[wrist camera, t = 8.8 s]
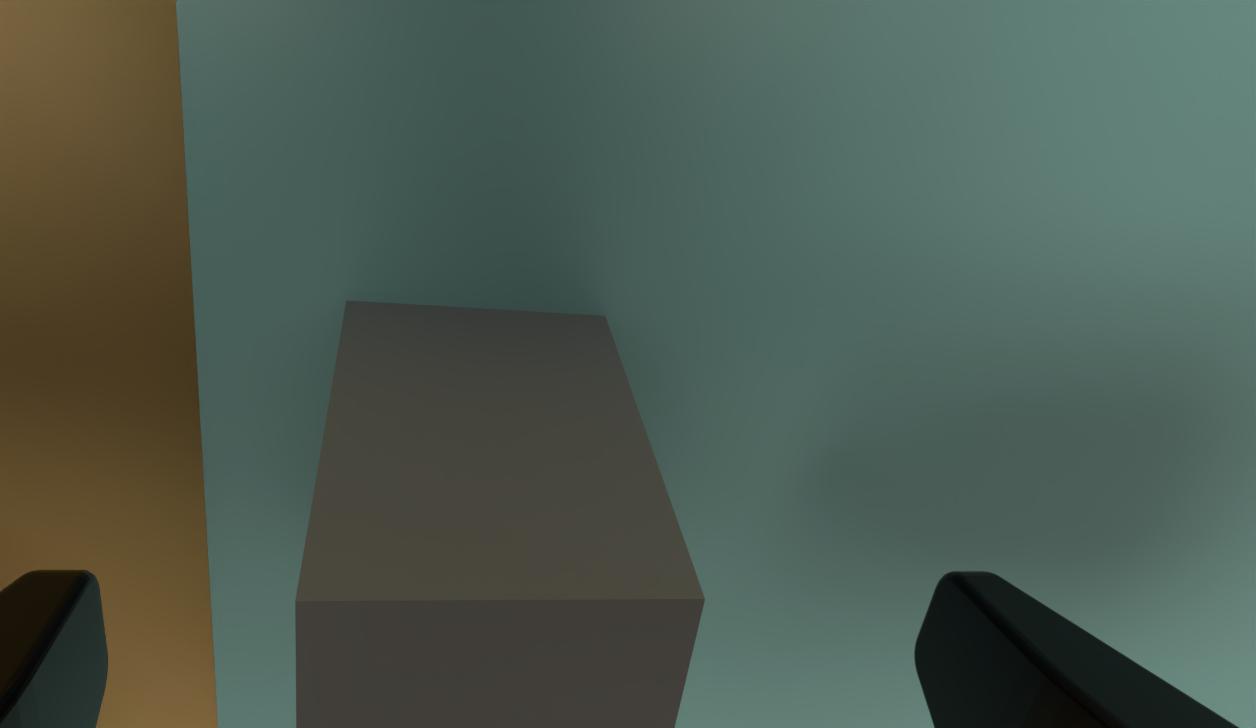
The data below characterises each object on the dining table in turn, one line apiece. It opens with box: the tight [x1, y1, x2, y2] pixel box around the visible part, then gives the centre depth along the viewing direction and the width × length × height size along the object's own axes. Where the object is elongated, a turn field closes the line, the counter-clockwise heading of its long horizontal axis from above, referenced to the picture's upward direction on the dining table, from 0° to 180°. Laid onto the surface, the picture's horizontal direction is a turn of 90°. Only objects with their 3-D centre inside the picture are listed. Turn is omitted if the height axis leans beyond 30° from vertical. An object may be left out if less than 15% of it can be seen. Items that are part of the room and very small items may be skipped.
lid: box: [176, 0, 1256, 728], centre depth 10 cm, size 15×13×6 cm
